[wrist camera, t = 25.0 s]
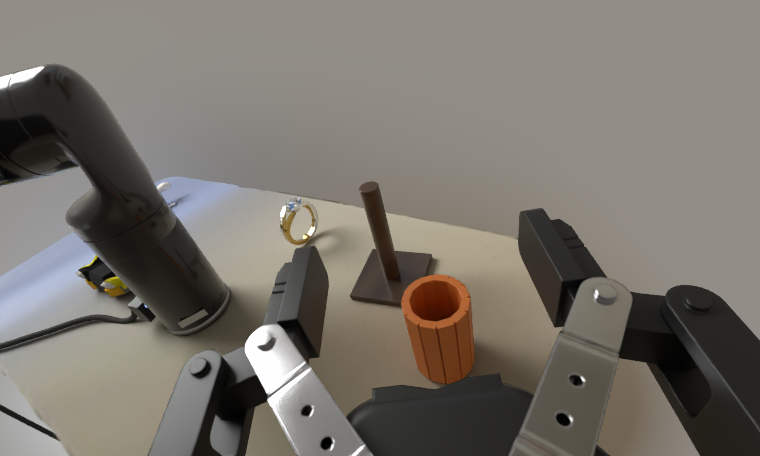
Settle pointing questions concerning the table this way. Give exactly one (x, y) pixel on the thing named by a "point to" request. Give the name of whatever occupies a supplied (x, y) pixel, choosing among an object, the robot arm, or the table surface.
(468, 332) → the orange stave barrel
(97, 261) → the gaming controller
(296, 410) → the robot arm
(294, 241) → the ring
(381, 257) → the brown peg stand
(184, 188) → the table surface
